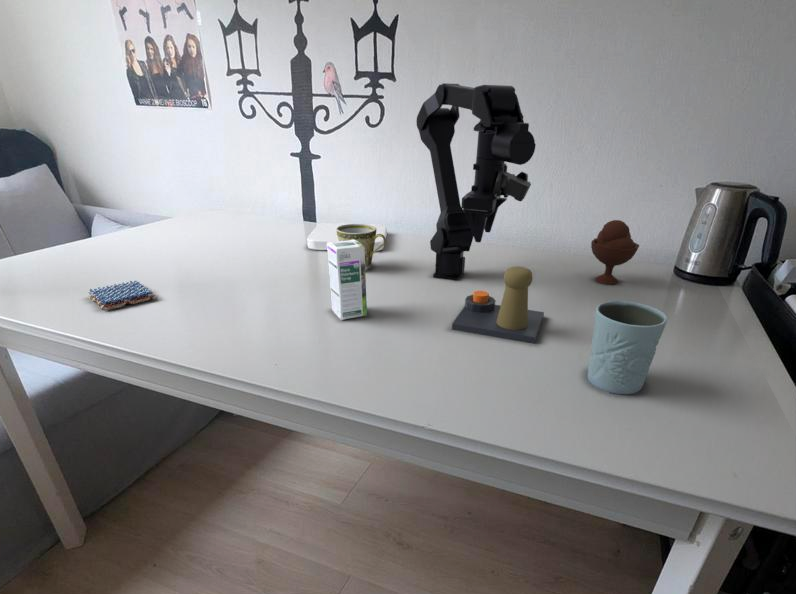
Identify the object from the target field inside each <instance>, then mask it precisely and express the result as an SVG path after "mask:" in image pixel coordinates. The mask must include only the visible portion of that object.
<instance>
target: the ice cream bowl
mask: <svg viewBox="0 0 796 594" xmlns="http://www.w3.org/2000/svg"><path fill="white" fill-rule="evenodd" d="M590 242H591V246H590V249H591V252H592V254H593V256H594V257H595V259H597V260H598V261H599V262H600V263H601V264H603V265H605V270H604V273H602V274H599V275H597V276H596V277H595V279H594V281H596V282H597V283H599V284H602V285H609V286H612V285H617V284H618V283H619V280H618V279H617V277H616V276H614V275H613V270H614V268H615V267H616V266H621V265H624V264H626V263H627V262H629V261H630V260H631V259H633V257H634V256H635V255H636V253H637V252H638V249H639V247H640V244H638V243H636V242H635V241H634V239H633V238H632V235H631V232H630V227H629V225H627V224H626V222H625V221H623V220H621V219H613V220H610V221H608V222H606V223H605V224H603V227H602V229H601V230H600V231H599V232H598V234H597V237H596V238H595V237H594V238H593V240H591V241H590Z"/></svg>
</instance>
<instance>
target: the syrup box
mask: <svg viewBox="0 0 796 594" xmlns="http://www.w3.org/2000/svg"><path fill="white" fill-rule="evenodd" d="M326 251H327V262H328V263H327V264H328V272H329V285H330V286H329V287H330V299H331V310H332V312H333V314H335V315H336V316H337V317H338V318H339V319H340V320H341V321H344V320H348V319H354V318H360V317H361V318H362V317H367V316H368V306H367V305H368V304H367V302H368V301H367V277H366V271H365V249H364V246H363V245H362V244H361V243H360V242H358V241H356V240H354V239H353V240H348V241H339V242H328V243H327V250H326Z"/></svg>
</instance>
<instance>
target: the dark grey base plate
mask: <svg viewBox="0 0 796 594" xmlns="http://www.w3.org/2000/svg"><path fill="white" fill-rule="evenodd" d="M496 302H497V301H496V299H495V298H494V297H492V296H490V295H489V298H488V302H487V303H477V302H474V301H473V294H469V295H467V296H466V298H465V300H464V307H463V308H462V309H461V311H460V312H459V314H458V315H457V316H456V318H455V319H454V321H453V322H452V323H451V330H452V331H457V332H463V333H469V334H474V335H475V334H476V335H481V336H487V337H491V338H499V339H503V340H504V339H505V340H509V341H510V340H511V341H517V342H522V343H528V344H533V345H534V344H535V343H536V340H537V337H538V334H539V332H540V328H541V325H542V322H543V319H544V316H545V315H544V314H545V312H544V311H539V310H532V309H528V325H527V327H526V328H524V329H520V330H510V329H505V328H503V327H500V326H499V325H498V324H497V318H498V314H499V310H500V307H501V304H500V305H499V304H496Z"/></svg>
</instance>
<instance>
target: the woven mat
mask: <svg viewBox="0 0 796 594" xmlns="http://www.w3.org/2000/svg"><path fill="white" fill-rule="evenodd" d="M88 294H89V295H88V298H89V300H90V299H91V301H92V302H93V303H94V302H95V303H97V305H98V307H99V309H100V310H102V309H103V310H105V311H110V310H115V309H118V308H123V307H124V306H126V305H136V304H140V303H143V302H147V301H149V300H150V299H154V298H155V297H156V295H155V294H153V291H152V289H149V287H147V286H145V285H144V284H143V283H141V282H140V281H137V280H134V281H132V280H129V281H127V282H126V283H125V282H121V283H119V284H116V283H114V284H113V285H110V286H109V285H106V286H103V287H99V286H98V287H97V288H93V289H92V288H90V289H89V292H88Z"/></svg>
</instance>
